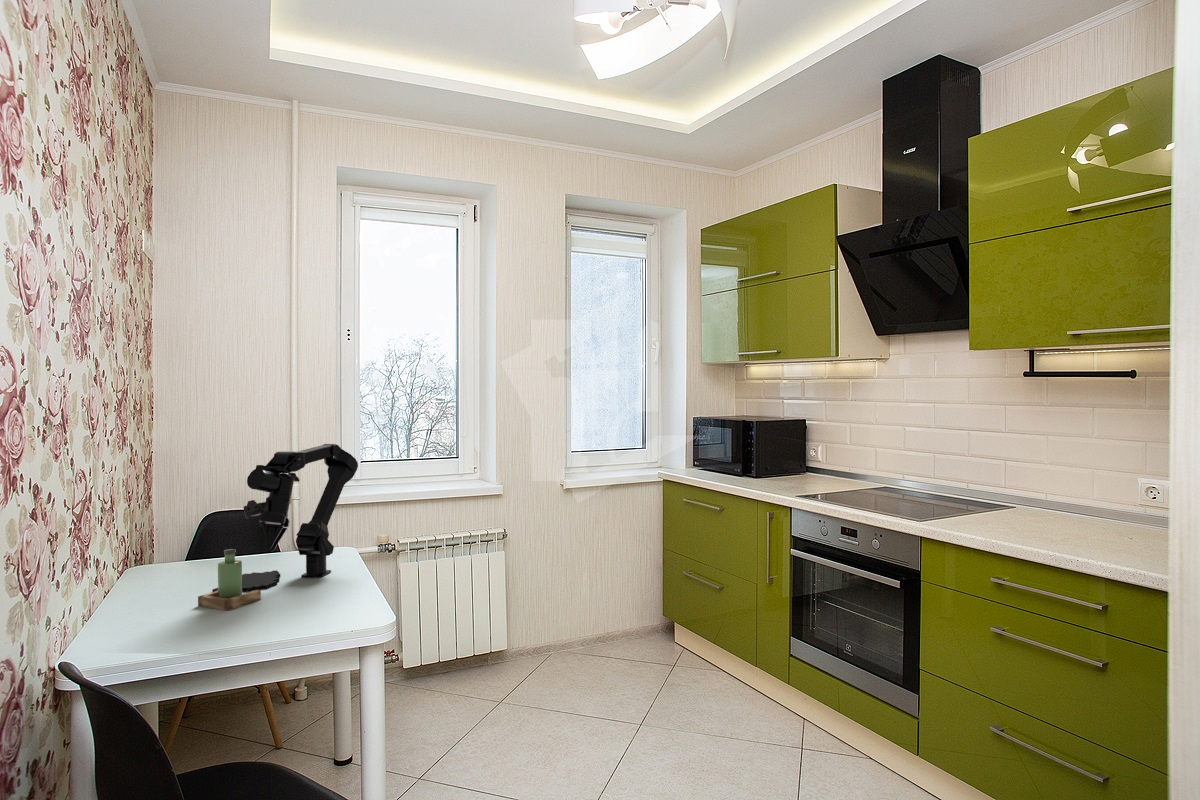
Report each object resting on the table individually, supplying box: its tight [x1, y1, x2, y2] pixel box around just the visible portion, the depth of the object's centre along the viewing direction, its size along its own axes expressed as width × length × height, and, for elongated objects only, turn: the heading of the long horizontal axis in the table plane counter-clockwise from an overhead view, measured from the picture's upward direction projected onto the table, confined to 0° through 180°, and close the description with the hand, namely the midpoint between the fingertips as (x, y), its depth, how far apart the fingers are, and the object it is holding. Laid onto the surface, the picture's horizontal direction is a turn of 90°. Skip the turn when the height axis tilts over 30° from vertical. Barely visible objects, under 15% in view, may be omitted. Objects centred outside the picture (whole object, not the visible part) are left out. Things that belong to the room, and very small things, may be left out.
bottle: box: [217, 548, 243, 599], centre depth 183 cm, size 6×6×13 cm
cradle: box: [197, 589, 262, 612], centre depth 183 cm, size 10×11×2 cm
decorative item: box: [211, 569, 281, 593], centre depth 202 cm, size 23×2×20 cm
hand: (269, 550), depth 193 cm, fingers open, 9 cm apart
